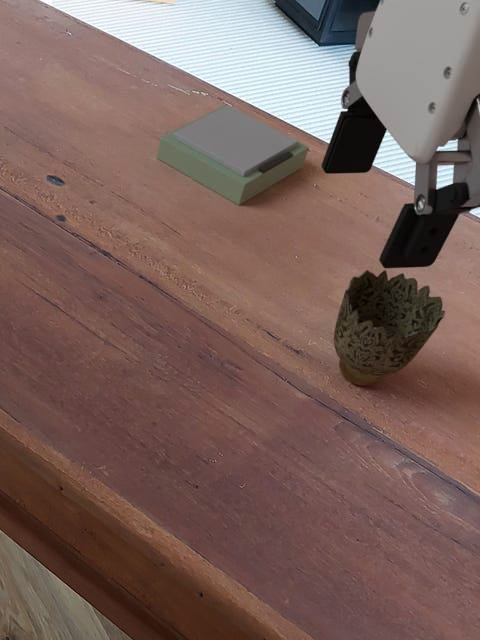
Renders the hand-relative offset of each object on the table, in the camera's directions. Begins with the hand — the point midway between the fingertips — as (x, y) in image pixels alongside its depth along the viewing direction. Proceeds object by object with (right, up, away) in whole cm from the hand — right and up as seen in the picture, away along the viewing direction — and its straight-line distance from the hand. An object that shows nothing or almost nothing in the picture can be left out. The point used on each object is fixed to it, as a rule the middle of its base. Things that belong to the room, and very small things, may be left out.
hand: (372, 215), depth 55 cm
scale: (+1, +17, +39) cm, 43 cm away
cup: (+7, -8, +20) cm, 22 cm away
